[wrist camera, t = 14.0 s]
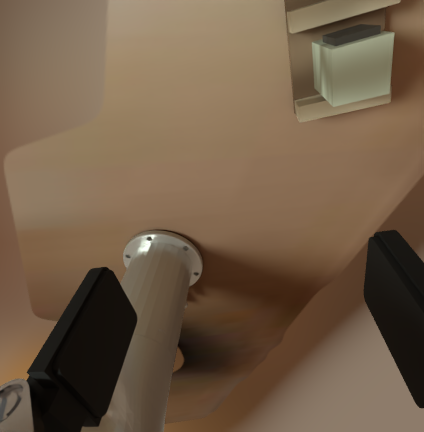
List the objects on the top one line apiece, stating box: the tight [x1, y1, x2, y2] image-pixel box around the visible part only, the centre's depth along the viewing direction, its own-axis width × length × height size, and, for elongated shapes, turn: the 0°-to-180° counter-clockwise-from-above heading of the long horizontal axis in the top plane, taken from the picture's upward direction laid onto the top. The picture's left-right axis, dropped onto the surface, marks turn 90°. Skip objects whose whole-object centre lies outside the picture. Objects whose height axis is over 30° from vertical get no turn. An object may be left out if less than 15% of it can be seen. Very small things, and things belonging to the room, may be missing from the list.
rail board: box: [284, 0, 400, 122], centre depth 21 cm, size 16×8×8 cm, turn 15°
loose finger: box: [312, 24, 394, 107], centre depth 23 cm, size 4×4×7 cm
